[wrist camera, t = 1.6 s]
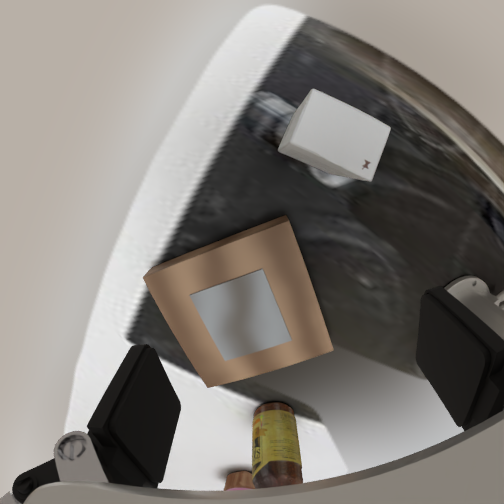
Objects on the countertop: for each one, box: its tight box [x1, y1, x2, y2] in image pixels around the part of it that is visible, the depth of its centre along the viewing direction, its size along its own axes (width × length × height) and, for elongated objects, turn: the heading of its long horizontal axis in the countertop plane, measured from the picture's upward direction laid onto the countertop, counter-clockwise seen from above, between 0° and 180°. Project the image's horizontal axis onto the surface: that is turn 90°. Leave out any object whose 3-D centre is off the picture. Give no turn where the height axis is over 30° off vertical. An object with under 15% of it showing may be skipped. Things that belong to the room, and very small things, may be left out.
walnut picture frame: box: [143, 215, 333, 388], centre depth 32 cm, size 16×16×3 cm
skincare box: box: [278, 89, 391, 181], centre depth 23 cm, size 6×4×12 cm
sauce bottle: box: [252, 402, 303, 489], centre depth 30 cm, size 7×6×20 cm
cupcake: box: [224, 471, 255, 491], centre depth 41 cm, size 9×9×10 cm
